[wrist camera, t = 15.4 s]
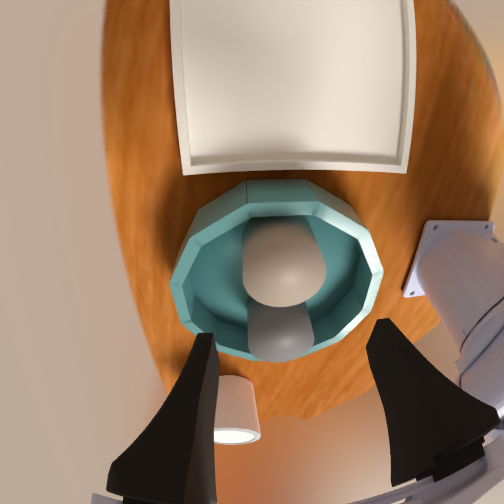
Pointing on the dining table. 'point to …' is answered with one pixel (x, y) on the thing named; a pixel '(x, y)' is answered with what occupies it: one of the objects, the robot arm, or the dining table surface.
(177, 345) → the dining table surface
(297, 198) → the bowl
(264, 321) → the charcoal stone
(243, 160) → the parts tray
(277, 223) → the brown stone
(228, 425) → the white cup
